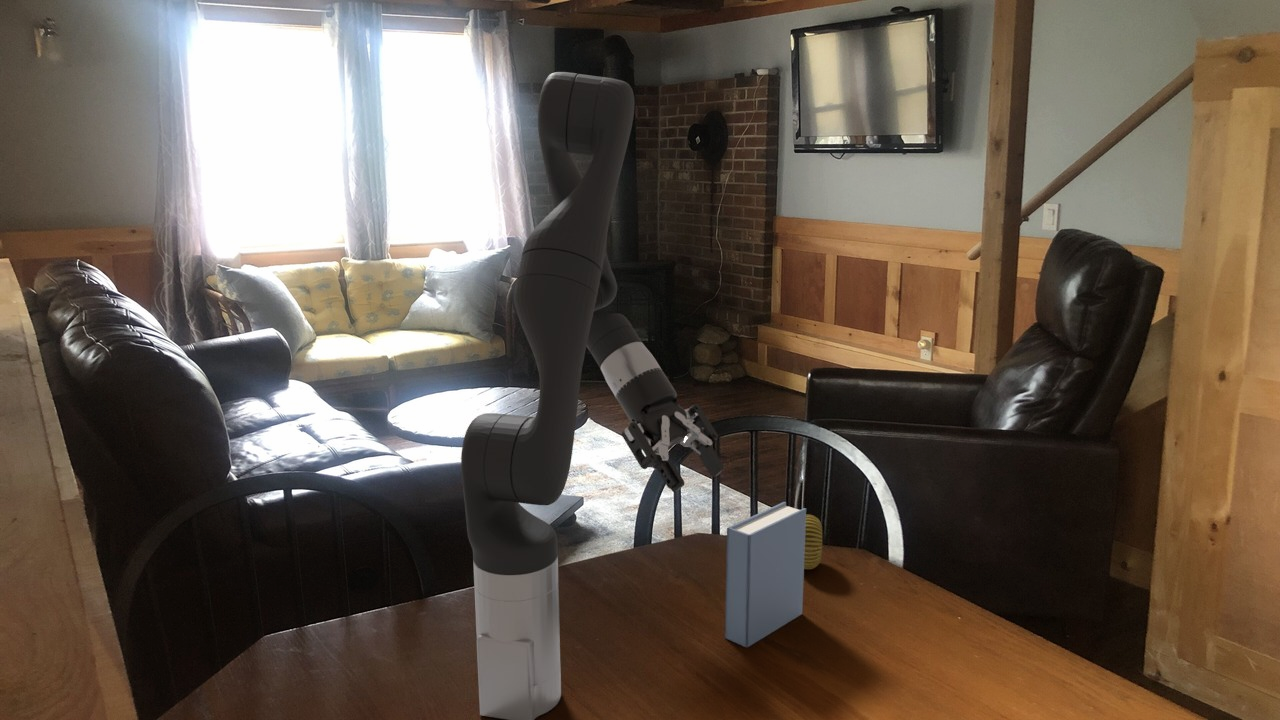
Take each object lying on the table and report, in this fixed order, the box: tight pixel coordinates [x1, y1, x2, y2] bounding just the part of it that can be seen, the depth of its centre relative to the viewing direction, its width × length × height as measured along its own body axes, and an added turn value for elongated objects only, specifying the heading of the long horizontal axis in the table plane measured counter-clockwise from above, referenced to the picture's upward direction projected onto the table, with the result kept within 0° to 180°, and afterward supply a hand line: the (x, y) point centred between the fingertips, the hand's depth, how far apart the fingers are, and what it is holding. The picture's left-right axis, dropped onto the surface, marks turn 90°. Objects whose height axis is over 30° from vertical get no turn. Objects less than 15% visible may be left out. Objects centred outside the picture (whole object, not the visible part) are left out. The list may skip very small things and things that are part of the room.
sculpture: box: [804, 513, 823, 570], centre depth 141 cm, size 8×4×8 cm, turn 171°
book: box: [724, 501, 807, 648], centre depth 123 cm, size 4×12×15 cm, turn 136°
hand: (699, 480), depth 129 cm, fingers open, 7 cm apart
